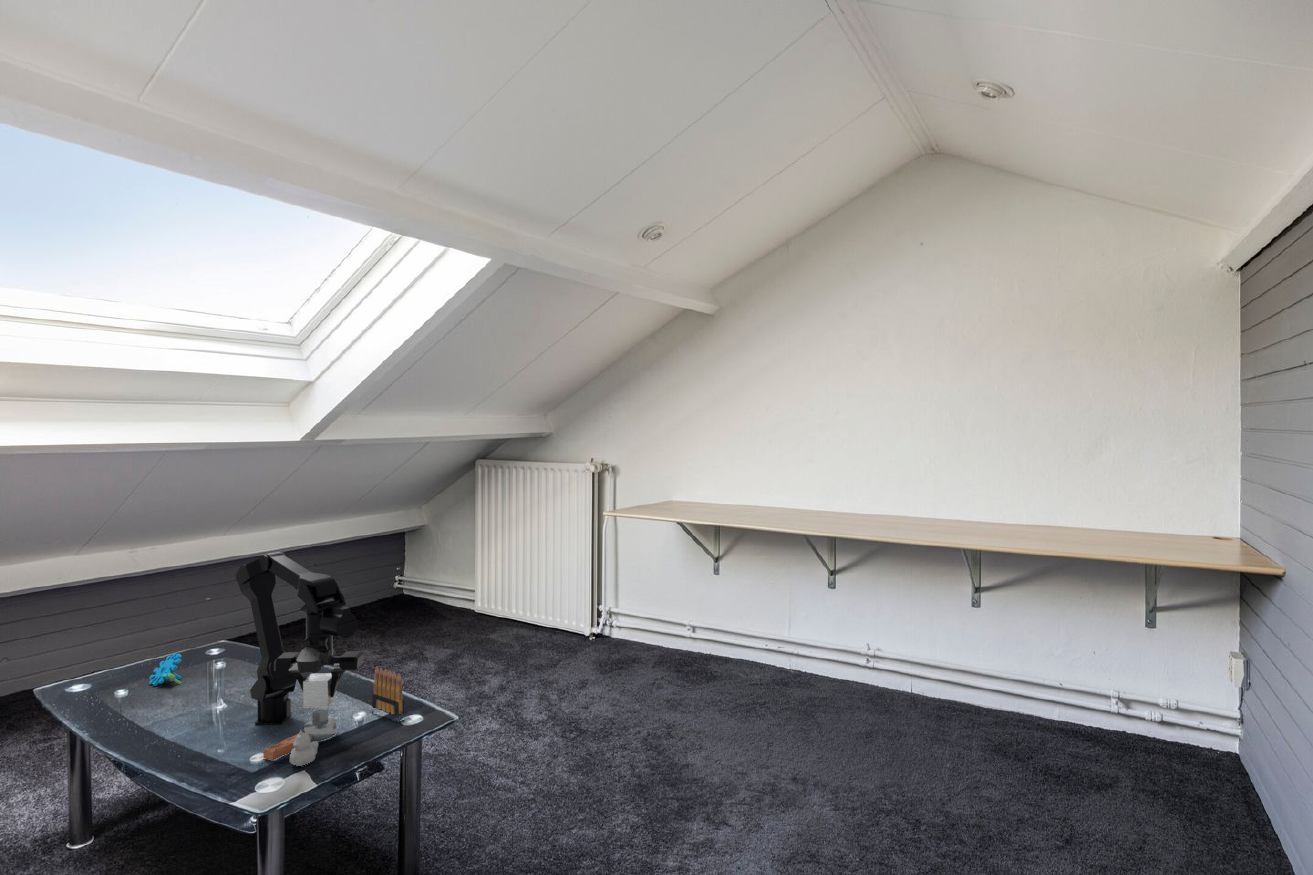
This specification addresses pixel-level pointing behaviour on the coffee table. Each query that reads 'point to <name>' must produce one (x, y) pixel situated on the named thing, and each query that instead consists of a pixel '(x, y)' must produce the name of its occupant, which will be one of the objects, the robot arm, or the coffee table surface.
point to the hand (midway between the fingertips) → (319, 697)
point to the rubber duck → (303, 750)
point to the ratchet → (314, 729)
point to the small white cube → (317, 691)
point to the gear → (166, 670)
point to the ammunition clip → (387, 692)
